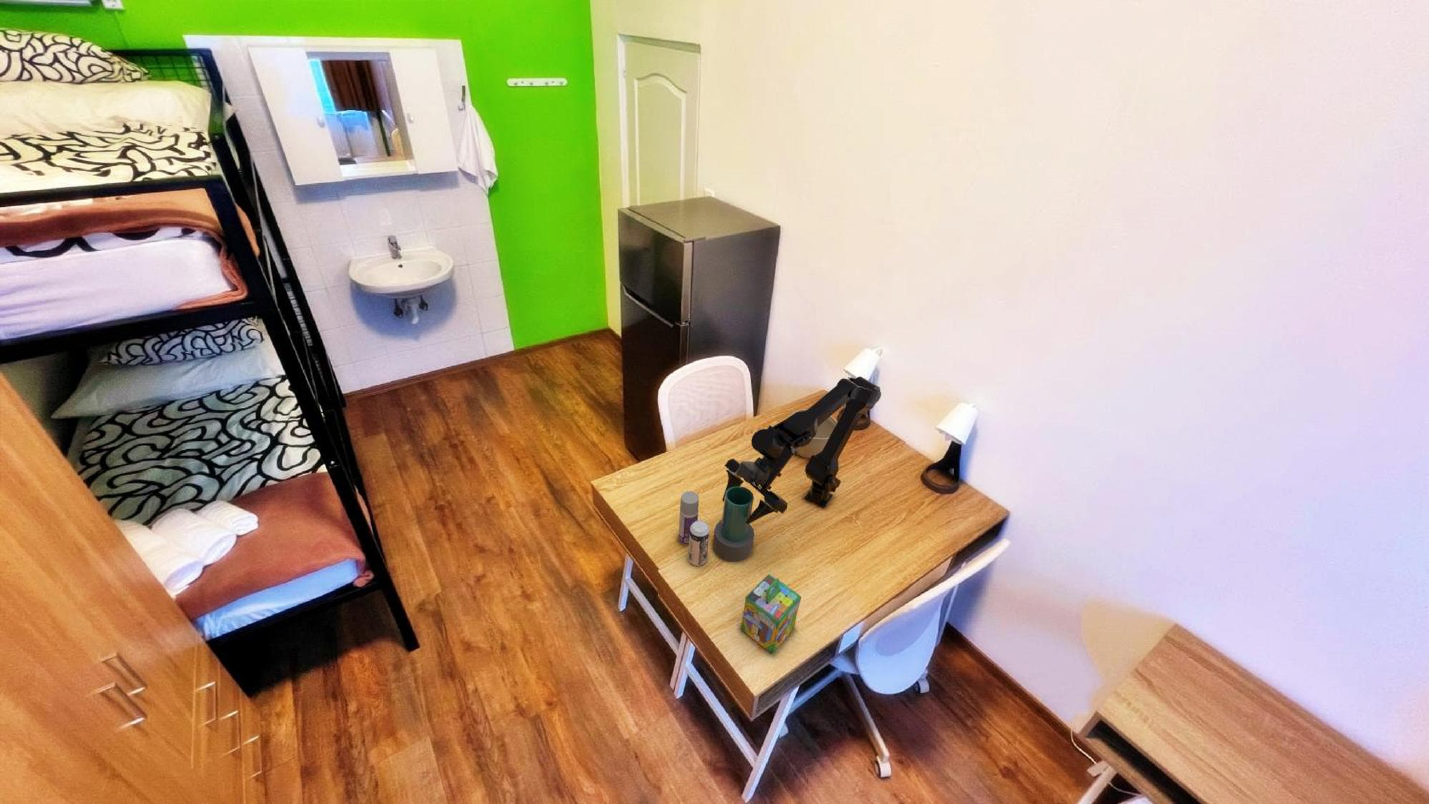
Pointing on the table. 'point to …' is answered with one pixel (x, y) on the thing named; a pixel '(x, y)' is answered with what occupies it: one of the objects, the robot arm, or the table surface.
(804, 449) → the planter bowl
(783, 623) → the chalk box
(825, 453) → the robot arm
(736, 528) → the green cup
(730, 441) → the table surface
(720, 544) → the grey pot
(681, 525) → the container
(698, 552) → the grey capped bottle
